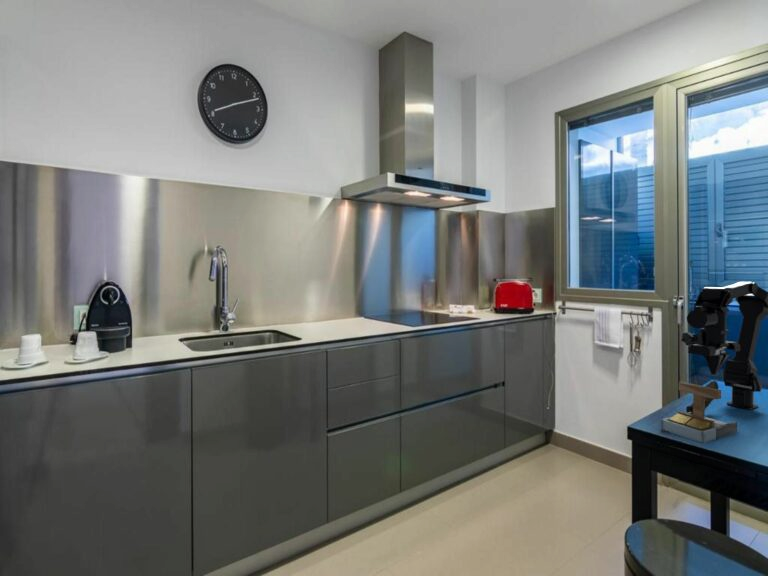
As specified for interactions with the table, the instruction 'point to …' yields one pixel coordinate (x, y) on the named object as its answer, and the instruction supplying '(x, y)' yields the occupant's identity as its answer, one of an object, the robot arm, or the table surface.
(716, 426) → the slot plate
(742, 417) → the table surface
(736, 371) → the robot arm
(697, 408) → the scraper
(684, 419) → the chip
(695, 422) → the chip
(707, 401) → the hand tool
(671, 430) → the tray
